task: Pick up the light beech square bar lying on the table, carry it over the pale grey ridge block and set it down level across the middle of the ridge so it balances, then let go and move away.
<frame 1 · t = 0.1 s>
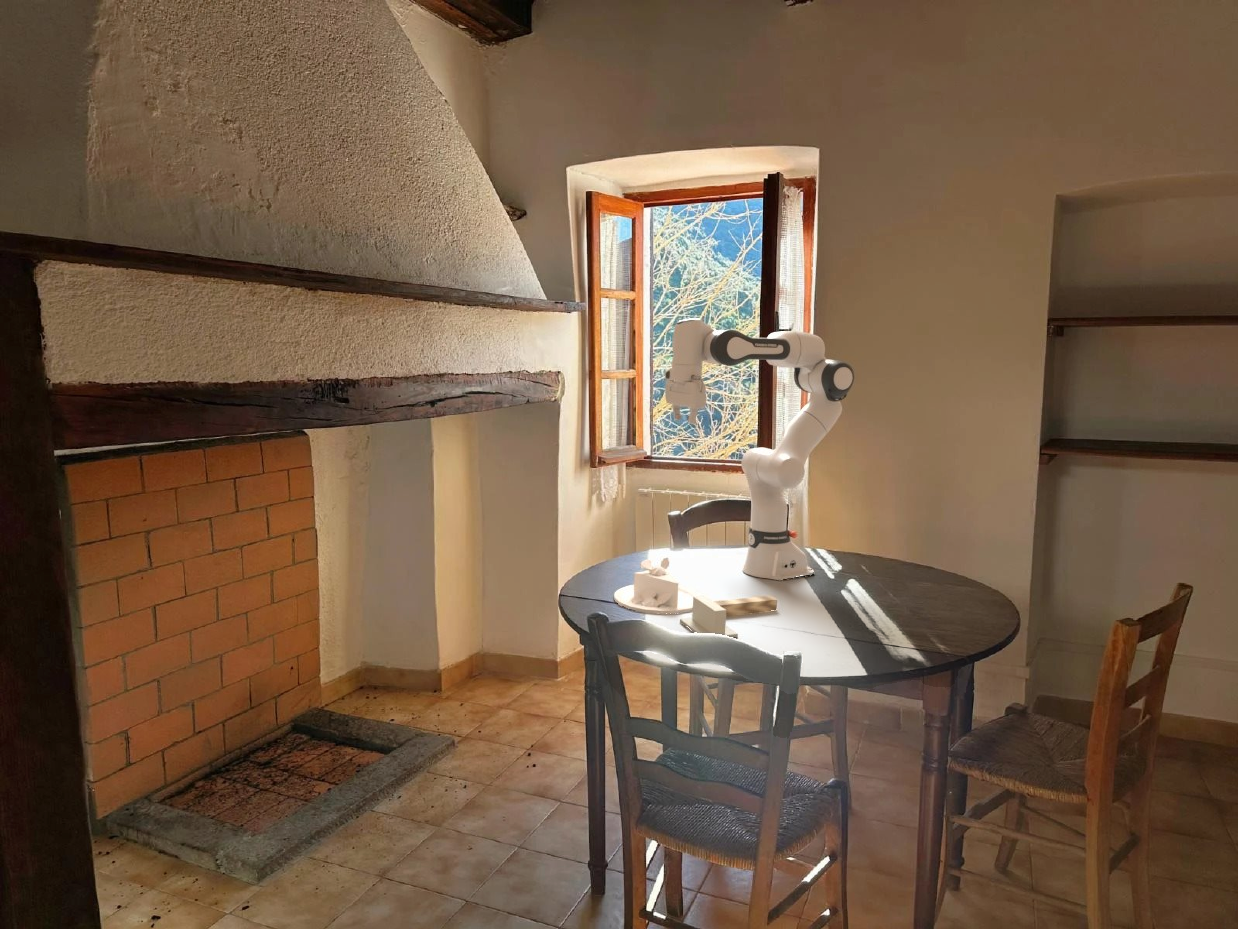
hand: (684, 421, 242), 48 cm above the table, tool pointing down, fingers open, 8 cm apart
beech bar: (744, 613, 221), on the table
ridge block: (708, 630, 206), on the table
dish: (658, 601, 230), on the table
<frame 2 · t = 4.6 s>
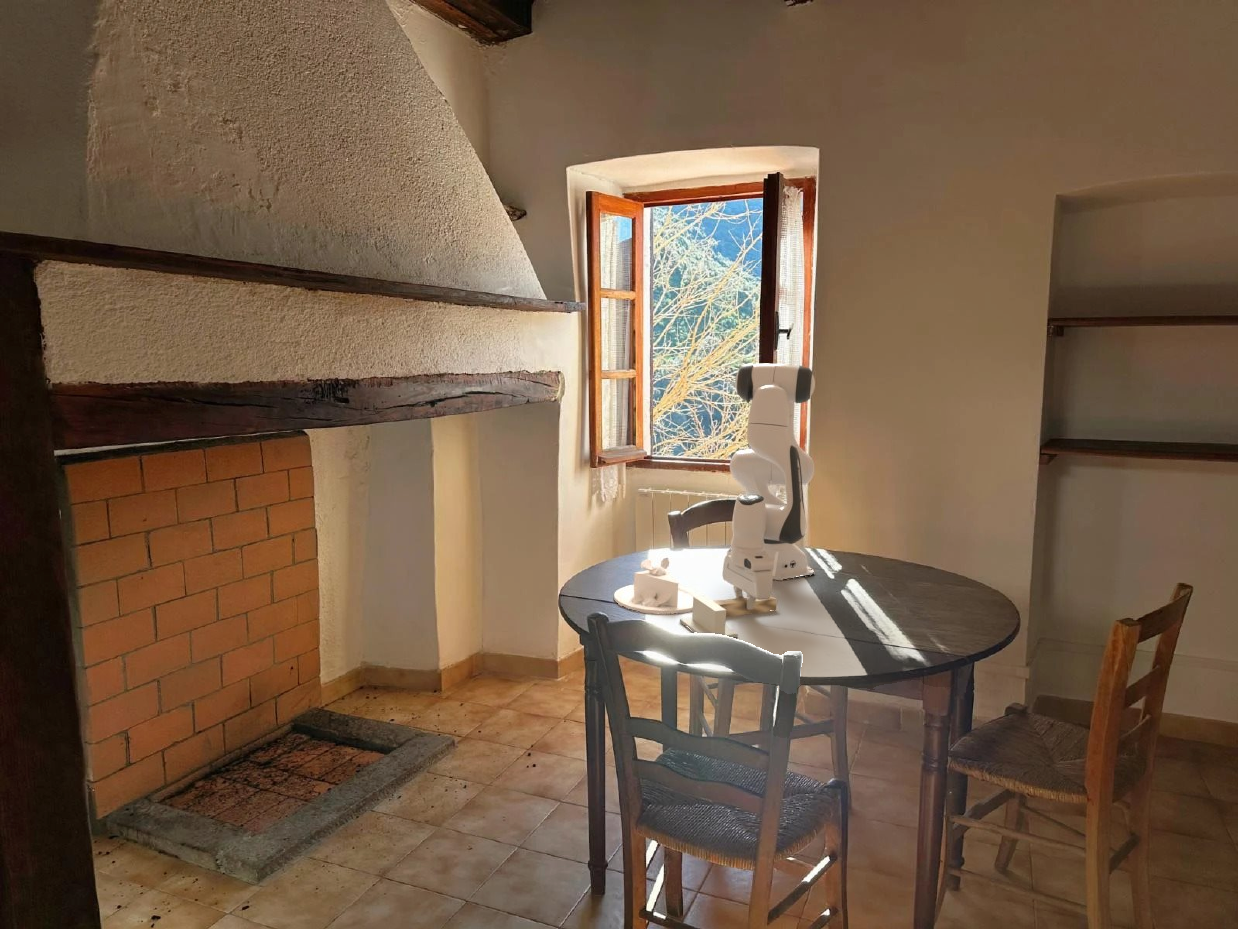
hand: (744, 606, 221), 2 cm above the table, tool pointing down, fingers closed on beech bar, 3 cm apart
beech bar: (743, 612, 221), on the table, touching gripper
everything else where it was.
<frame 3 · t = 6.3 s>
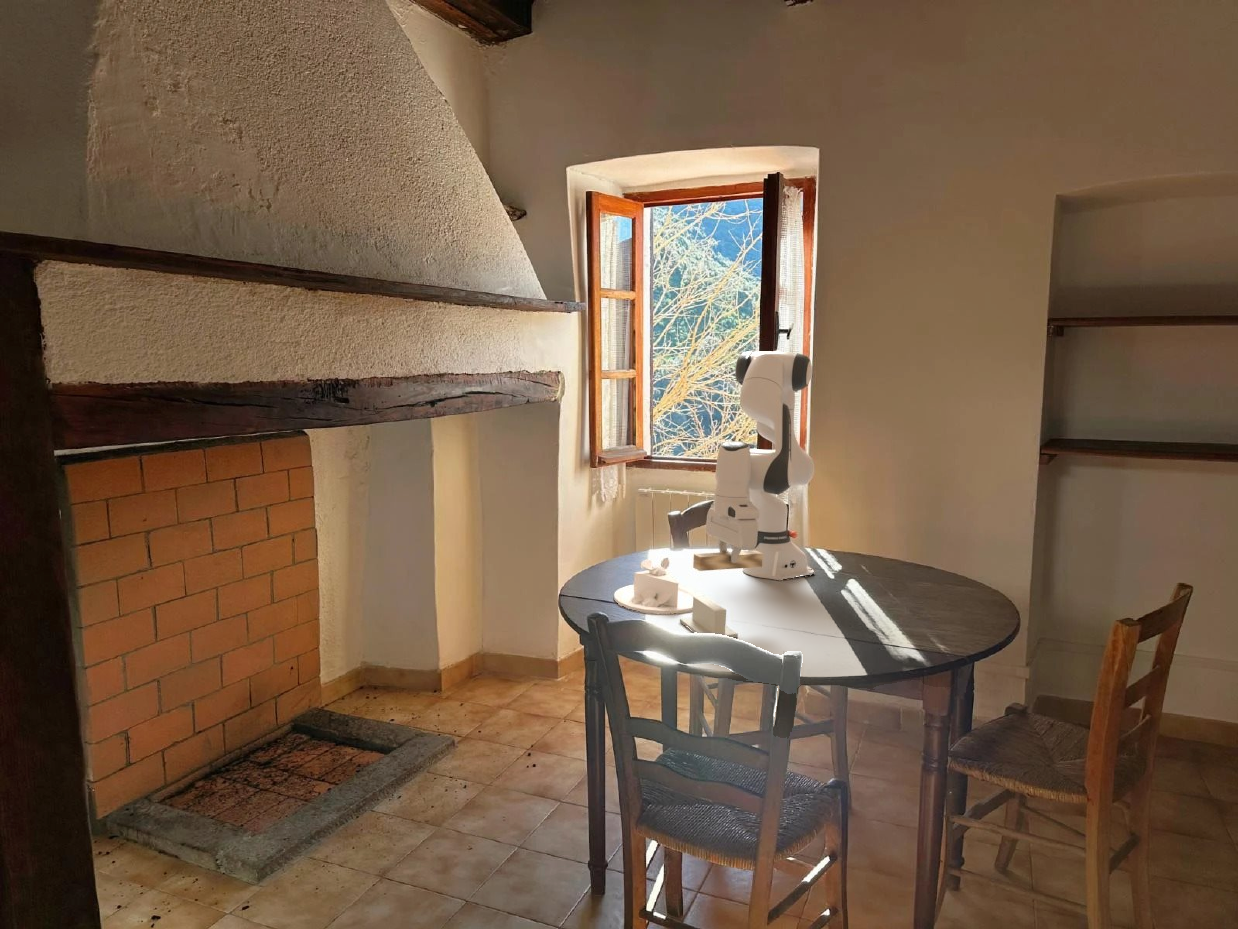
hand: (728, 559, 210), 17 cm above the table, tool pointing down, fingers closed on beech bar, 3 cm apart
beech bar: (727, 567, 210), point 15 cm above the table, touching gripper
everything else where it was.
when the fingers open (9 cm above the table, at t = 8.5 s): beech bar stays where it is, resting on ridge block.
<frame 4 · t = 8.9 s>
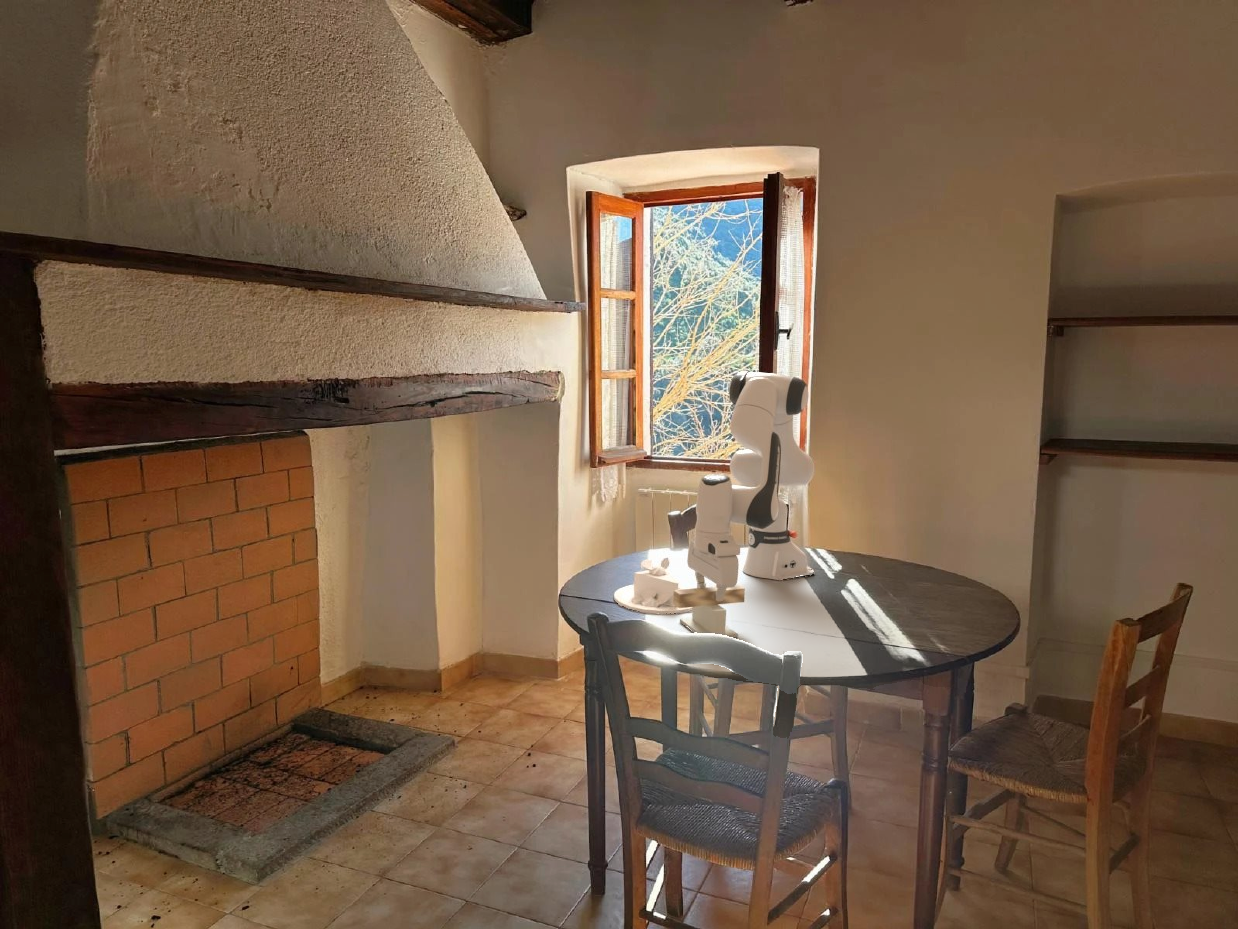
hand: (709, 595, 205), 9 cm above the table, tool pointing down, fingers open, 8 cm apart
beech bar: (708, 603, 205), point 7 cm above the table, touching ridge block
everything else where it was.
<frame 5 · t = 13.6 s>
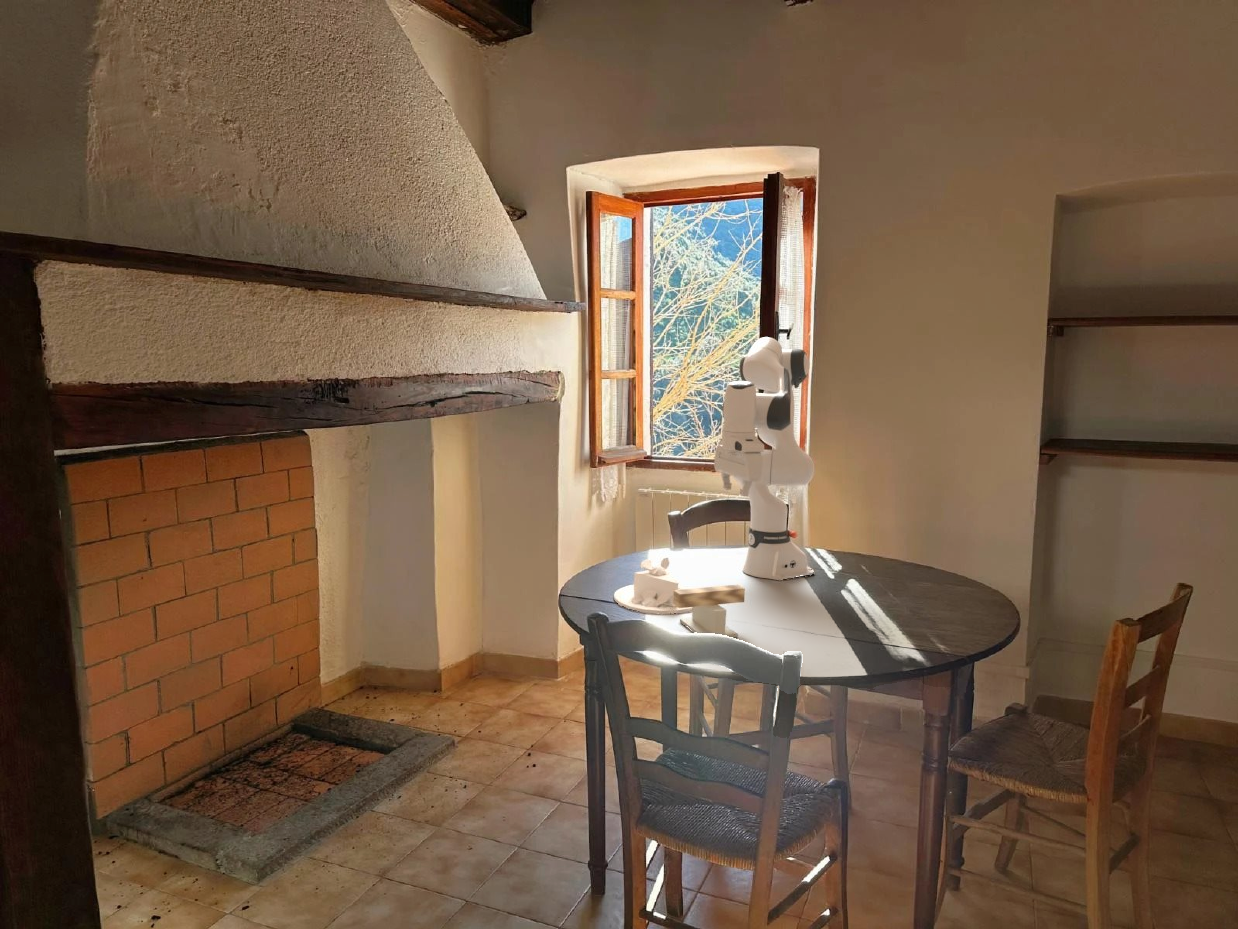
hand: (735, 492, 224), 31 cm above the table, tool pointing down, fingers open, 8 cm apart
nothing on the table moved.
at the end: beech bar inside the target area on the ridge block (0.1 cm from its centre), point 7.0 cm above the ridge block's base; beech bar touching ridge block; beech bar tilted 0° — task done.
